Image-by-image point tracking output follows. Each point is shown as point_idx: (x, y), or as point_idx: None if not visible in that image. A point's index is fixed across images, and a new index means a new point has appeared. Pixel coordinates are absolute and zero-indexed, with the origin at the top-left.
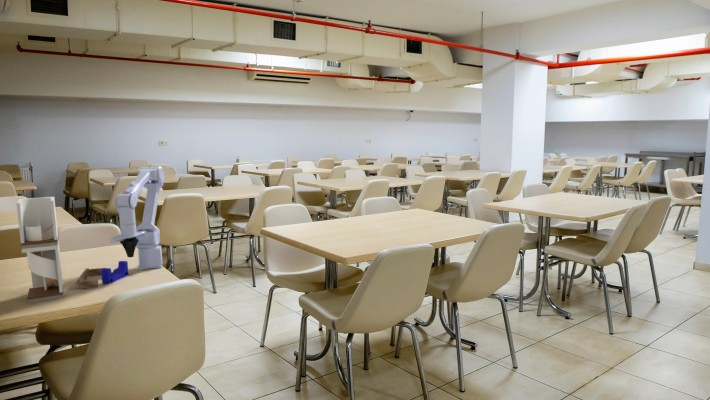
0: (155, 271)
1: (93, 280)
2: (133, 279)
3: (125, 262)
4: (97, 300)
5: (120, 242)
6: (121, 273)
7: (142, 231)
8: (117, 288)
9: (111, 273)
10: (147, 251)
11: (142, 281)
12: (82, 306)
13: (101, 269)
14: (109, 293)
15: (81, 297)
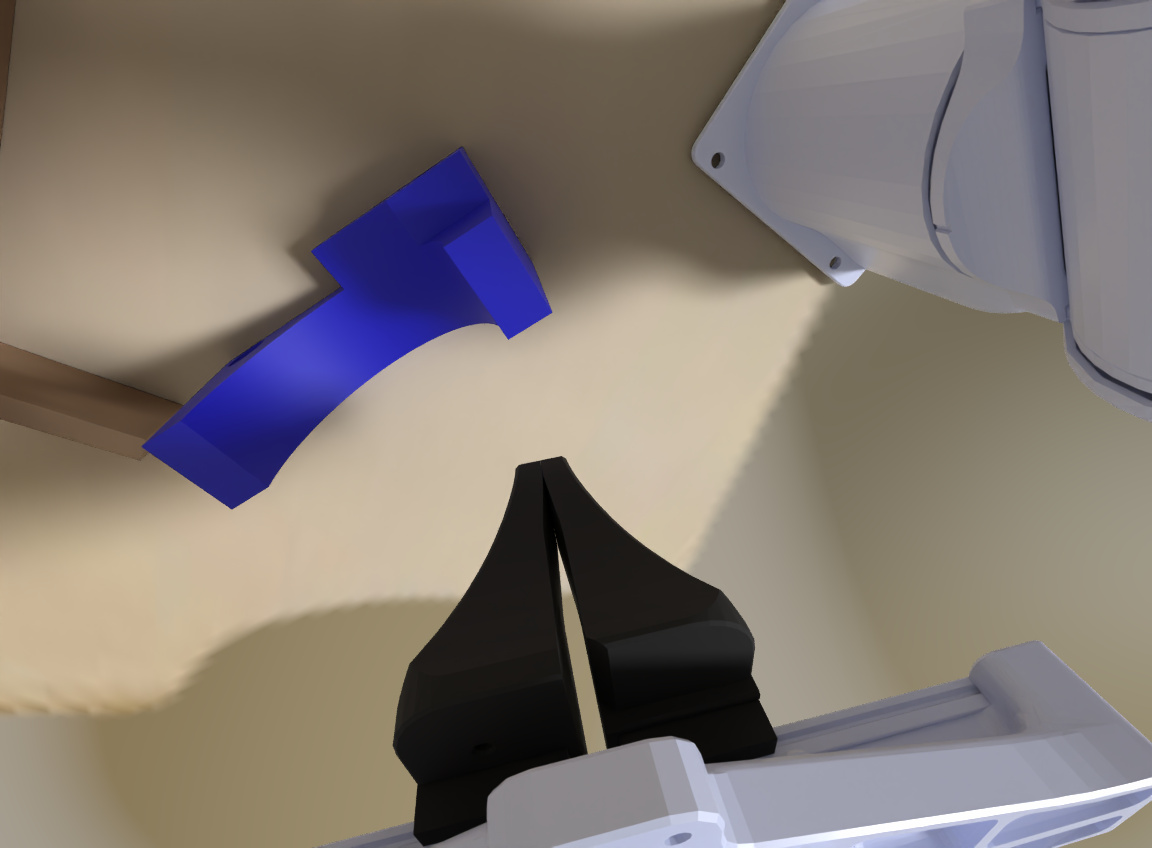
0: (739, 349)
1: (95, 441)
2: (501, 433)
3: (513, 334)
4: (162, 670)
5: (415, 668)
6: (440, 328)
7: (1087, 818)
8: (326, 550)
9: (295, 445)
10: (917, 258)
11: None
12: (63, 708)
13: (147, 446)
14: (253, 606)
15: (34, 581)
